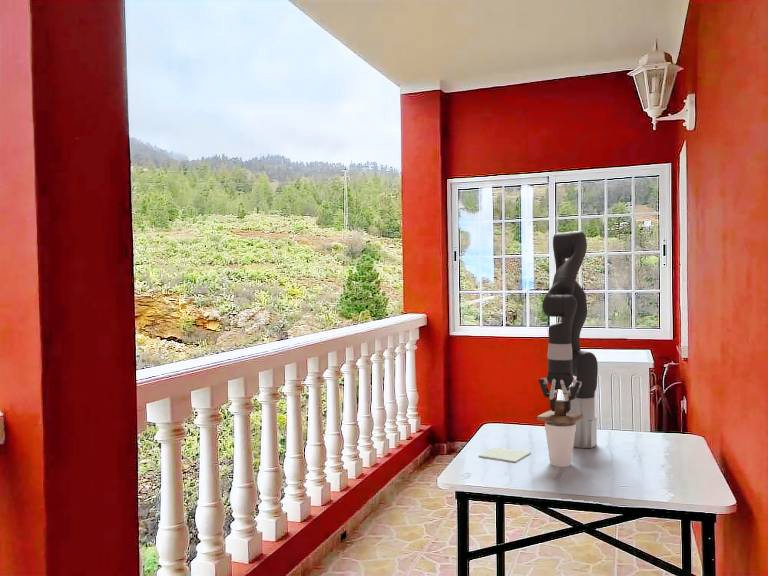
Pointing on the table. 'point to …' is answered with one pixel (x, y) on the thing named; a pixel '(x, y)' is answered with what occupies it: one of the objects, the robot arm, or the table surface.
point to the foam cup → (560, 442)
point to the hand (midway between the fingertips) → (560, 411)
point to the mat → (505, 454)
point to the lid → (560, 414)
